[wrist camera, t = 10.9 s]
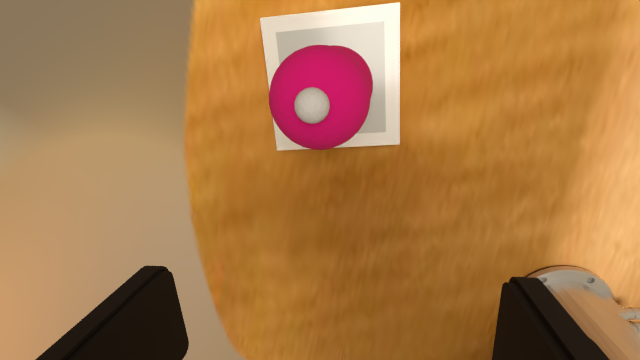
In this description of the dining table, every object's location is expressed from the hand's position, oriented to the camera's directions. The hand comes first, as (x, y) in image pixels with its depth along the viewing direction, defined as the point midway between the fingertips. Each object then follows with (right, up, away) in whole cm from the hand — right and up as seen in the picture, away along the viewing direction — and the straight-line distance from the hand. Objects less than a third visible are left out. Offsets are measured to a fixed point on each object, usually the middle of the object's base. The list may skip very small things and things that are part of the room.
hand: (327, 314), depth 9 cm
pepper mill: (+2, +14, +25) cm, 29 cm away
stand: (+1, +15, +28) cm, 32 cm away
